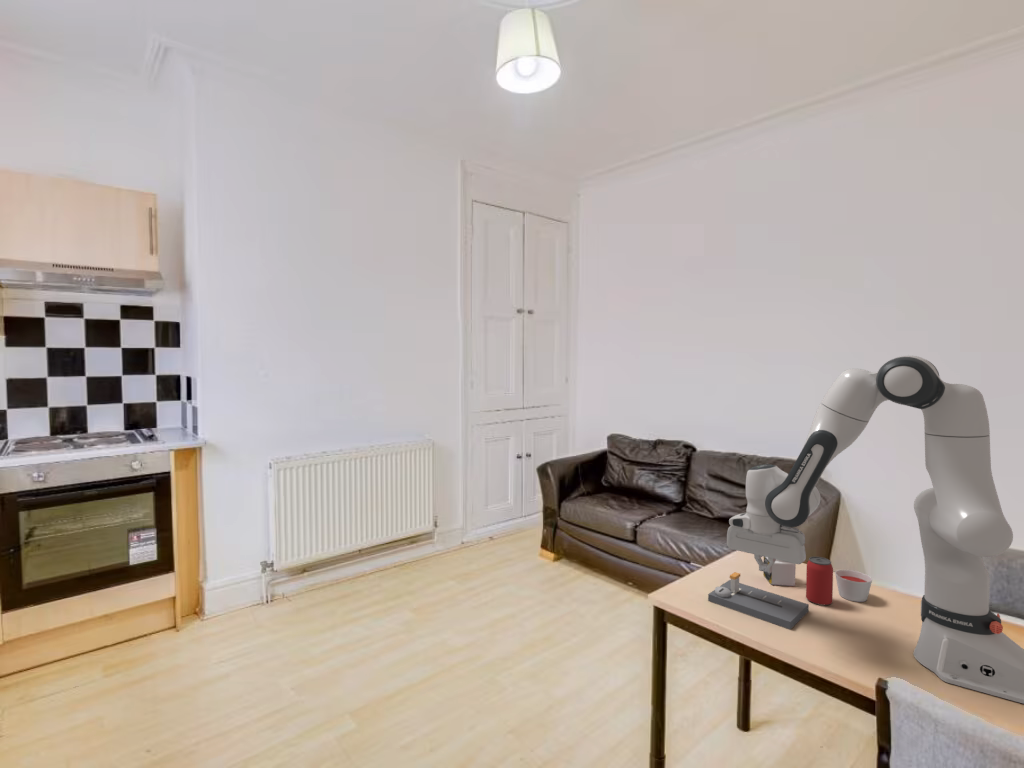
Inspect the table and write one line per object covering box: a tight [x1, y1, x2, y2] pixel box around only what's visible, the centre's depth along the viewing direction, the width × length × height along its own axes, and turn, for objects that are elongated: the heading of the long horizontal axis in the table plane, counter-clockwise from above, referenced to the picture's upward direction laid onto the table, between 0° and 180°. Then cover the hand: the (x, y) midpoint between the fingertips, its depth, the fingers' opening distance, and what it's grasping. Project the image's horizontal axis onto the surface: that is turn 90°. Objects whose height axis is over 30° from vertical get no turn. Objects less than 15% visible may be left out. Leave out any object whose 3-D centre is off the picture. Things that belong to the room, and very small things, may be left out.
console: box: [707, 579, 810, 630], centre depth 145 cm, size 22×14×4 cm, turn 43°
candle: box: [834, 569, 873, 603], centre depth 150 cm, size 9×9×6 cm
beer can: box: [805, 556, 834, 606], centre depth 148 cm, size 7×7×12 cm
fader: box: [729, 571, 741, 593], centre depth 150 cm, size 2×4×5 cm, turn 133°
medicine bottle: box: [762, 556, 797, 587], centre depth 161 cm, size 7×7×12 cm
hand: (765, 571), depth 144 cm, fingers closed
